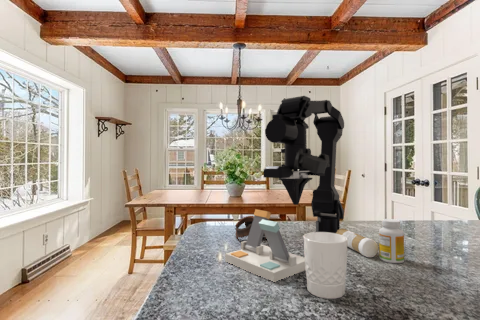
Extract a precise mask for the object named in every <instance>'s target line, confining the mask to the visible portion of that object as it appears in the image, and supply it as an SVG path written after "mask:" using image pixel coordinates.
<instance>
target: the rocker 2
mask: <svg viewBox="0 0 480 320" xmlns="http://www.w3.org/2000/svg"><path fill="white" fill-rule="evenodd" d="M259 225H260V228H261V229H263V231H264V234H265V236H266V238H265V240H266V239H267V240H266V241H267V243H268V245H269V246H268V247H270V248H271V251H272V253H273V255H274V258H275V259H277V260H280V261H283V262H286V263H289V257H290V256H289V253H290V252H289V251H288V248H287V246H286V243H285V241H284V238H283V236H282V234H281V231H280V230H281V227H280V225H279V222H277V221H273V220H270V219H268V220H264V219H262V220H261V221H260V222H259ZM265 236H264V237H265Z"/></svg>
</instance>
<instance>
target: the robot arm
mask: <svg viewBox="0 0 480 320" xmlns="http://www.w3.org/2000/svg"><path fill="white" fill-rule="evenodd" d="M280 102H281V103H280V105H279V106H278V109H277V111H276V114H272V117H271V118H272V119H271V120H270V121H269V122H268V123H267V125H266V127H265V130H264V134H265V135H264V136H265V137H266V139H267V140H268V141H269V142H271V143H273V144H274V143H275V144H283V145H284V146H283V147H284V148H281V149H280V153H281V154H284V163H283V164H281V165H280V166H279V165H278V166H276V165H273V166H272V165H271V166H267V165H266V166H265V167H264V169H263V178H266V179H267V178H268V179H269V178H270V179H278V180H279V181H281V183H282V184H283V187H284V188H285V190H286V192H287V193H288V195H289V198H290V200H291V202H292V204H293V205H299V203H300V201H301V198H302V194H303V191H304V189H305V186H306V185H307V183H309V182H310V181H312V180H313V177H309V176H318V177H319V181H318V183H319V184H318V186H317V188H316V189H313V191H312V199H311V202H310V203H311V211H312V216H313V217H314V218H315V217H317V218H316V219H317V220H316V221H315V232H329V233H336V232H337V231H338V230H339V229H341V226H340V222H341V221H340V220H344V218H345V217H344V216H345V209H344V208H343V205H342V203H341V201H340V194H339V192H338V190H337V189H336V187H335V182H336V181H335V180H336V165H337V161H336V160H337V144H338V142H339V141H340V139H341V138H342V136H343V130H344V129H345V120H344V117H343V115H342V113H341V111H340V110H339V109H337V108H336V107H334V106H333V105H332V102H331V101H330V100H328V99H324V100H311V97H308V96H306V95H300V96H296V97H295V96H294V97H288V98H284V99H282V100H281V101H280ZM321 114H328V116H320V117H319V115H321ZM313 115H314V118H313V122H312V123H313V125H314V127H315V129H316V134H317V135H318V138H319V139H320V141H321V145H320V146H321V148H320V154H319V155H318V156H317V155H314V154H312V151H311V148H307V147H308V146H307V142H308V141H307V130H308V129H309V125H308V123H306V121H305V120H306V119H307V118H309V117H312V116H313Z"/></svg>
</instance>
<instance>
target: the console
mask: <svg viewBox="0 0 480 320" xmlns="http://www.w3.org/2000/svg"><path fill="white" fill-rule="evenodd" d="M246 242H247V240H244V241H241V242H240V249H238V250H234V251H231V252H226V253H225V255H224V257H225V258H224V259H225V263H227V262H228V263H227V264H229V263H230V265H231V264H233V265H232V266H234V265H235V266H234V267H236V266H237V267H236V268H238V267H240V268H239V269H241V268H242V269H241V270H243V269H244V270H243V271H245V270H246V272H248V271H249V272H248V273H250V272H251V273H250V274H252V273H253V274H252V275H255V274H256V275H255V276H257V275H258V277H259V276H261V277H260V278H262V277H264V278H266V279H269V280H271V281H273V282H275V283H277V282H276V281H278V280H280V281H282V280H281V279H283V280H285V279H287V278H290V277H292V276H295V275H297V274H300V273H302V272H304V271H306V269H305V256H301V255H298V254H294V253H291V252H288V253H289V256H290V257H289V263H286V262H283V261H280V260H277V259H275V258H274V255H273V253H272V251H271V248H270V246H268V245H265V244H262V243H261V245H260V246H257V247H256V252H254V251H251V250H248V249H245V245H246ZM294 274H295V275H294ZM289 276H290V277H289ZM286 277H287V278H286ZM264 278H263V279H264ZM284 278H285V279H284ZM266 279H265V280H266ZM271 281H270V282H271ZM273 282H272V283H273ZM278 282H279V281H278Z"/></svg>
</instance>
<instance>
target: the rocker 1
mask: <svg viewBox="0 0 480 320" xmlns="http://www.w3.org/2000/svg"><path fill="white" fill-rule="evenodd" d="M271 215H272V213H271V212H270V211H267V210H261V209H257V208H255V209H254V213H253V216H254V219H253V222H252V226H251V229H250V232H249V235H248V236H247V239H246V241H247V242H246V245H245V249H248V250H251V251H254V252H256V247H257V246H260V245H261V244H262V241H263V238H264V236H263V235H264V231H263V229H261V228H260V225H259V222H260V221H261V220H262V219H264V220H270V218H271Z"/></svg>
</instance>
